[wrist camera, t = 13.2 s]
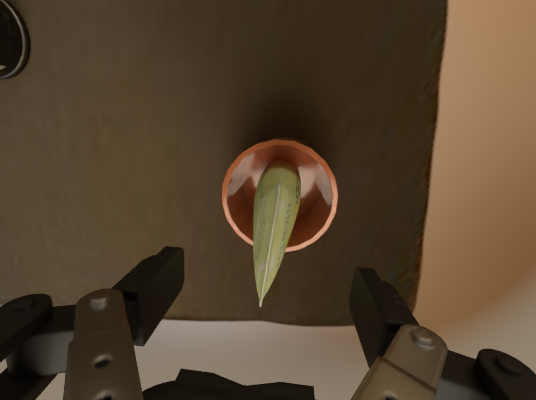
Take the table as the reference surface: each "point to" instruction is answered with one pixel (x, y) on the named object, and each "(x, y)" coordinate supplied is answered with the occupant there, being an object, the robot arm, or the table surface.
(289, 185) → the tube
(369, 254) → the table surface
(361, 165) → the table surface
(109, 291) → the robot arm
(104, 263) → the table surface
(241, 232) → the pen cup
